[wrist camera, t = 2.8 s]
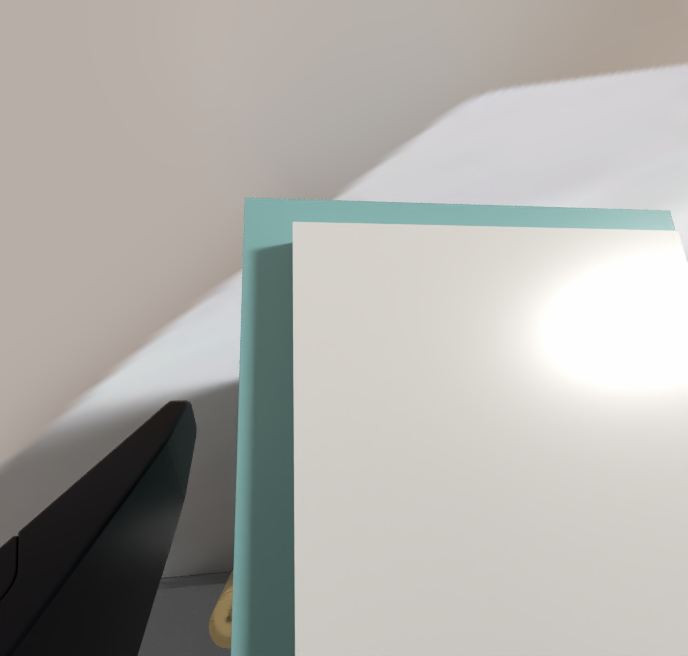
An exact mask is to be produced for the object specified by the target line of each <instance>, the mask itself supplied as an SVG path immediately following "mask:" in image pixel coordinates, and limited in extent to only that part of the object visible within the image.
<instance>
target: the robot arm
mask: <svg viewBox="0 0 688 656" xmlns="http://www.w3.org/2000/svg"><path fill="white" fill-rule="evenodd" d="M195 439H196V422H195V418H194V414H193V409H192V405H191V403H190V402H189V401H188V400H177V401H170V402H168V403H167V404H166V405H165V406H164V407H162V408H161V409H160V410H159V411H158V412H157V413H156V414H154V415H153V416H152V417H151V418H150V419H149V420H147V421H146V422H145V423H144V424H143V425H142V426H141V427H139V428H138V429H137V430H136V431H135V432H134V433H132V434H131V435H130V436H129V437H128V438H127V439H126V440H124V441H123V442H122V443H121V444H120V445H119V446H117V447H116V448H115V449H114V450H113V451H112V452H111V453H109V454H108V455H107V456H106V457H105V458H104V459H102V460H101V461H100V462H99V463H98V464H97V465H96V466H94V467H93V468H92V469H91V470H90V471H89V472H87V473H86V474H85V475H84V476H83V477H82V478H81V479H79V480H78V481H77V482H76V483H75V484H74V485H72V486H71V487H70V488H69V489H68V490H67V491H66V492H64V493H63V494H62V495H61V496H60V497H59V498H57V499H56V500H55V501H54V502H53V503H52V504H51V505H49V506H48V507H47V508H46V509H45V510H44V511H42V512H41V513H40V514H39V515H38V516H37V517H35V518H34V519H33V520H32V521H31V522H30V523H29V524H27V525H26V526H25V527H24V528H23V529H22V530H20V531H19V533H18V536H14V537H12V538H11V539H10V540H9V541H8V542H6V543H5V544H4V545H3V546H2V547H1V548H0V656H138V653H139V650H140V646H141V643H142V640H143V636H144V633H145V630H146V627H147V623H148V620H149V617H150V613H151V610H152V607H153V603H154V600H155V597H156V593H157V590H158V587H159V583H160V580H161V577H162V573H163V570H164V567H165V563H166V560H167V557H168V553H169V550H170V547H171V543H172V540H173V537H174V534H175V530H176V527H177V524H178V520H179V517H180V514H181V510H182V507H183V503H184V499H185V494H186V489H187V484H188V478H189V473H190V467H191V461H192V456H193V450H194V445H195Z"/></svg>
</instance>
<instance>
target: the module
mask: <svg viewBox="0 0 688 656" xmlns="http://www.w3.org/2000/svg"><path fill="white" fill-rule="evenodd" d="M244 209H245V210H244V240H243V242H244V243H243V273H242V306H241V340H240V373H239V406H238V439H237V472H236V506H235V539H234V572H233V605H232V639H231V656H688V264H687V261H686V257H685V254H684V250H683V247H682V243H681V240H680V236H679V233H678V231H676V230H675V227H674V223H673V220H672V216H671V213H670V211H663V210H630V209H598V208H565V207H533V206H500V205H468V204H435V203H403V202H370V201H338V200H305V199H303V200H302V199H272V198H245V207H244Z"/></svg>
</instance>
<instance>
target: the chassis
mask: <svg viewBox="0 0 688 656" xmlns="http://www.w3.org/2000/svg"><path fill="white" fill-rule="evenodd" d="M233 572H234V568H233V570H232V572H225V573H213V574H202V575H191V576H180V577H169V578H161V580H160V583H159V587H158V590H157V593H156V597H155V600H154V603H153V607H152V610H151V613H150V617H149V620H148V623H147V627H146V630H145V633H144V636H143V640H142V643H141V646H140V650H139V653H138V656H231V639H232V605H233Z"/></svg>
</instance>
